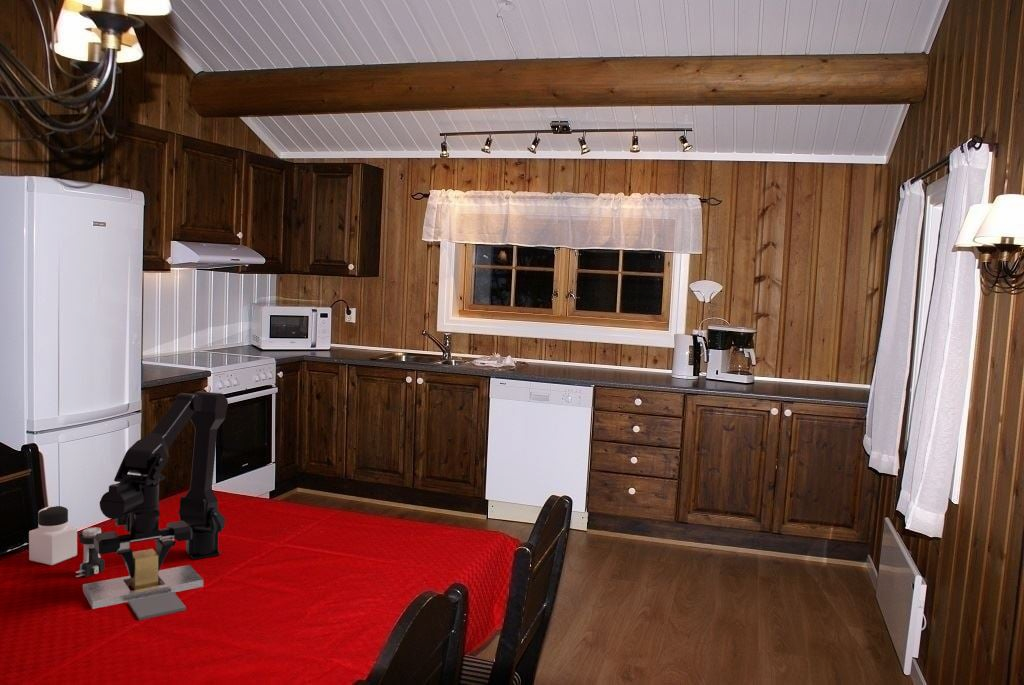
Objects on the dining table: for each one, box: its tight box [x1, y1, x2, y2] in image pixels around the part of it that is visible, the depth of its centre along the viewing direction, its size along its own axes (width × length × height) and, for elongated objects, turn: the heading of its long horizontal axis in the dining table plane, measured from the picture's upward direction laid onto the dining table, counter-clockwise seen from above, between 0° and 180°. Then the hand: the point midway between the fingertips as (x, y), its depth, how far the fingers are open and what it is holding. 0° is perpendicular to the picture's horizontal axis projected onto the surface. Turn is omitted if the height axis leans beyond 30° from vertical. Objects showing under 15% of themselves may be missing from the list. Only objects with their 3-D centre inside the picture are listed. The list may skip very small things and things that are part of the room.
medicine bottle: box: [28, 505, 78, 566], centre depth 189 cm, size 7×7×12 cm
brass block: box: [130, 548, 159, 591], centre depth 175 cm, size 5×5×7 cm
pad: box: [127, 592, 187, 621], centre depth 168 cm, size 9×9×1 cm
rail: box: [82, 564, 204, 610], centre depth 176 cm, size 22×10×2 cm, turn 128°
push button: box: [75, 526, 106, 578], centre depth 182 cm, size 7×5×10 cm
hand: (144, 575), depth 175 cm, fingers closed on brass block, 5 cm apart
